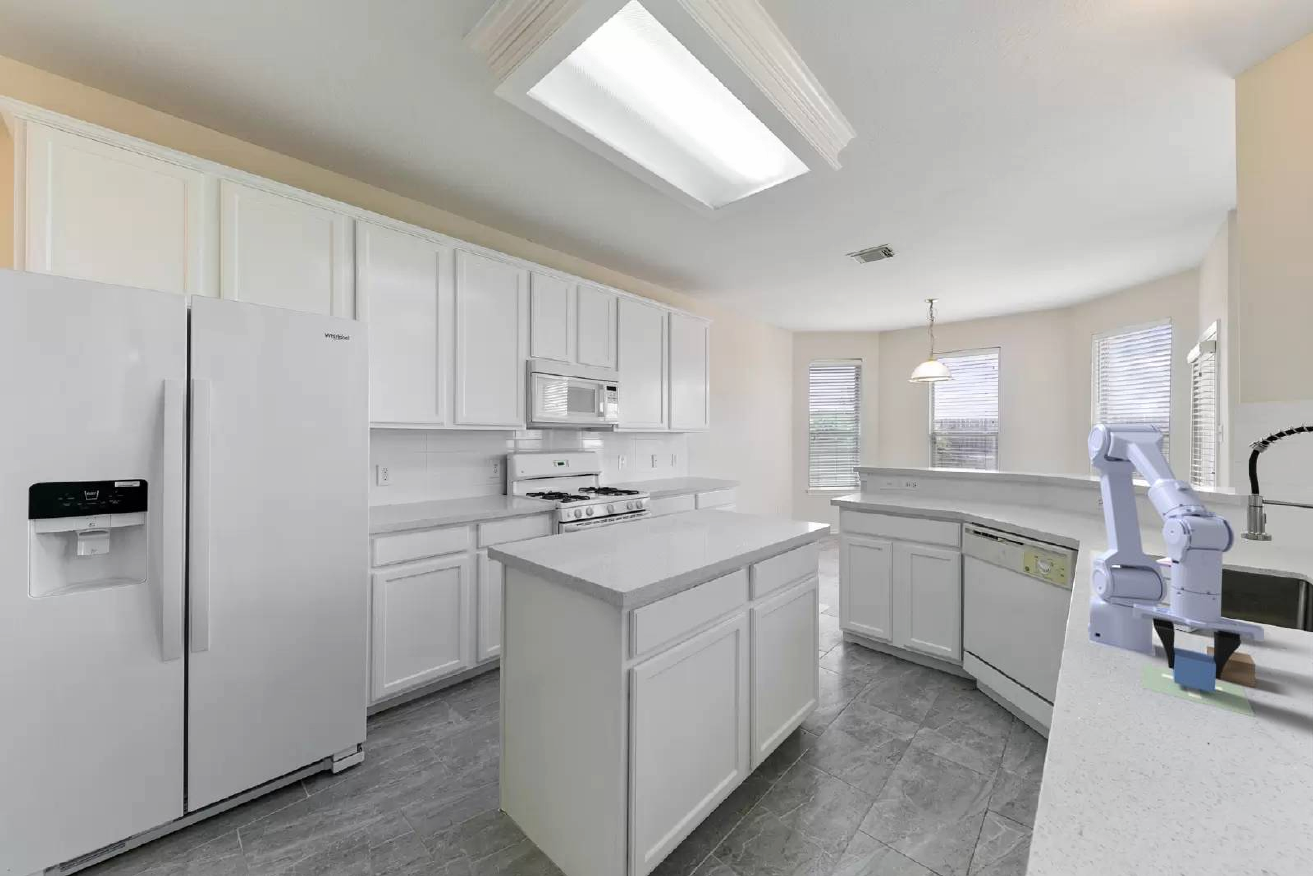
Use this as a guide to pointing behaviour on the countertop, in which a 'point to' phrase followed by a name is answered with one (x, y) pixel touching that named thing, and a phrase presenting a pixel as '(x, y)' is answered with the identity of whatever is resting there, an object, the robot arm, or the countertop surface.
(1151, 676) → the board
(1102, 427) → the robot arm
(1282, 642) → the countertop surface
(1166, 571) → the syrup box
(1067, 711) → the countertop surface
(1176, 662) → the blue cube
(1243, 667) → the walnut block
